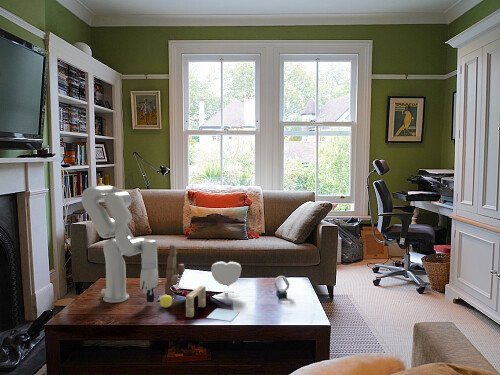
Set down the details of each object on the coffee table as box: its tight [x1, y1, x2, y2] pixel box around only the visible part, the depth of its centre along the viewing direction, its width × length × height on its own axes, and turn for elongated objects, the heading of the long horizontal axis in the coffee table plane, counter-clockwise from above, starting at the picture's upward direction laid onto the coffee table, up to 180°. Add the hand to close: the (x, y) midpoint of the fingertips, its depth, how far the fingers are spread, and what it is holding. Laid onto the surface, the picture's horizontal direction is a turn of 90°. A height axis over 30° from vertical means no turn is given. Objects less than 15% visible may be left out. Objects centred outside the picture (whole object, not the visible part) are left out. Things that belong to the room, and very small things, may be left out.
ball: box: [159, 294, 173, 308], centre depth 194 cm, size 6×6×6 cm
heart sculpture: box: [210, 261, 242, 299], centre depth 210 cm, size 16×5×18 cm, turn 88°
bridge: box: [185, 285, 207, 318], centre depth 189 cm, size 3×15×10 cm, turn 162°
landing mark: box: [206, 307, 241, 322], centre depth 185 cm, size 12×12×1 cm
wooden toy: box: [164, 244, 185, 295], centre depth 219 cm, size 16×7×25 cm, turn 173°
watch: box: [273, 275, 290, 300], centre depth 209 cm, size 6×8×11 cm
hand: (150, 301), depth 197 cm, fingers closed
